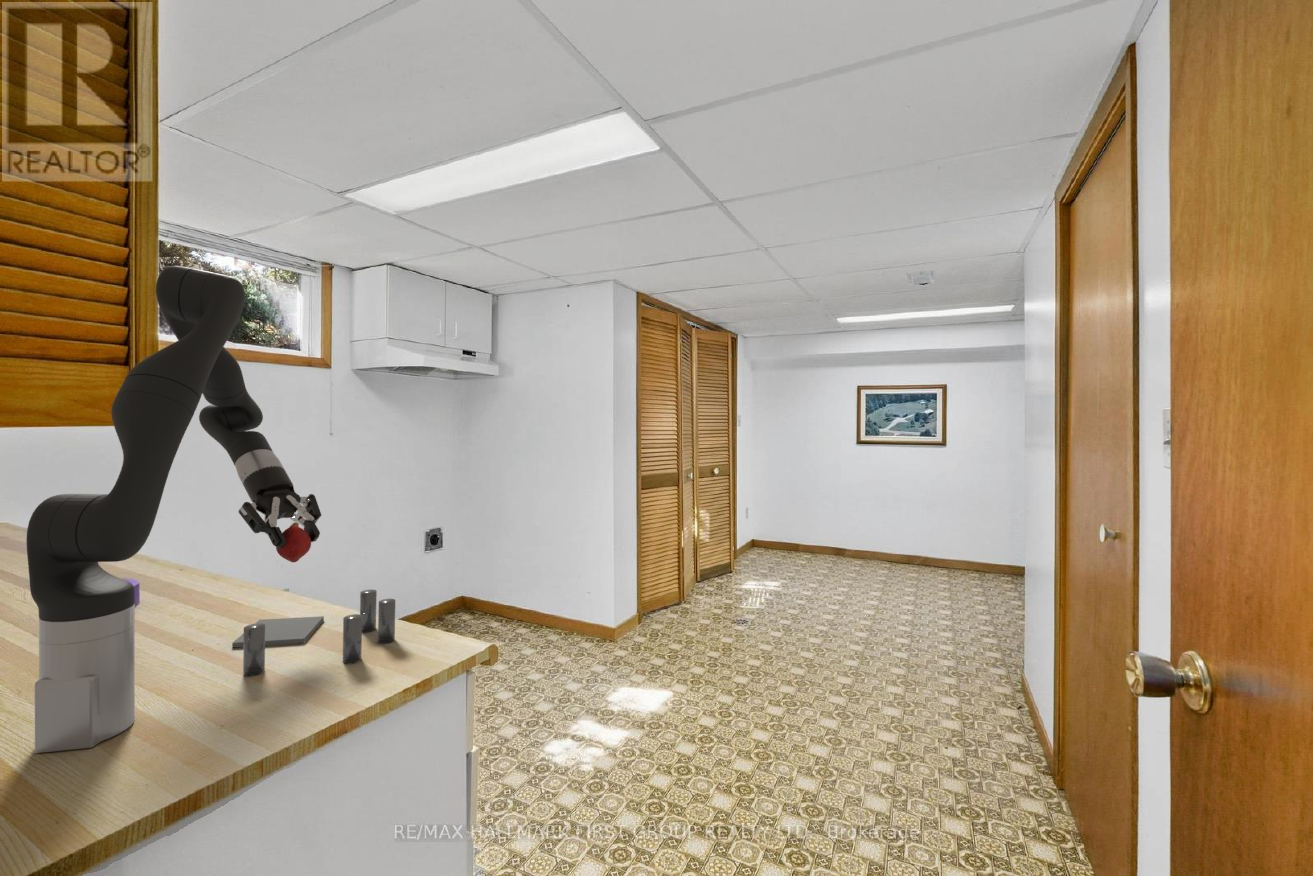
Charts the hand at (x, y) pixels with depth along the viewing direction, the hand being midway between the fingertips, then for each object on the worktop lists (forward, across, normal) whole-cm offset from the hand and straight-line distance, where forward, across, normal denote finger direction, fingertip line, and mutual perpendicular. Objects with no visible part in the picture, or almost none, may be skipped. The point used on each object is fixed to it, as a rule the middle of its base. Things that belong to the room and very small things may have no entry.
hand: (299, 542), depth 108 cm
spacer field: (+20, 0, +7) cm, 21 cm away
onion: (+2, 0, +4) cm, 5 cm away
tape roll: (-22, -11, +51) cm, 56 cm away
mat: (+10, 0, +18) cm, 20 cm away
